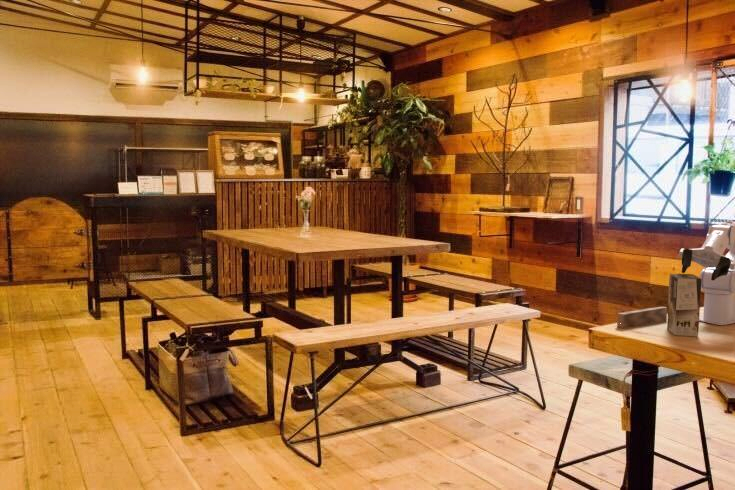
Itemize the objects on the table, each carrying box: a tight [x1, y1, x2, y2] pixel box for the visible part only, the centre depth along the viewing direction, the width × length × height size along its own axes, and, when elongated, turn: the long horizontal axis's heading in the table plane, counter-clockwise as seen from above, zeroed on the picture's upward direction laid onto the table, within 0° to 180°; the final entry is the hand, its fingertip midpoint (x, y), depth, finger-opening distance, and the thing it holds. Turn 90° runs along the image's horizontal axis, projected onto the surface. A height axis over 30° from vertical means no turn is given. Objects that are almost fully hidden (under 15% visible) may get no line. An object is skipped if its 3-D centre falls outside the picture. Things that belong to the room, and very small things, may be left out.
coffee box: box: [666, 273, 702, 338], centre depth 186 cm, size 9×6×16 cm
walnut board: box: [616, 306, 668, 329], centre depth 198 cm, size 20×2×4 cm, turn 121°
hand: (697, 273), depth 184 cm, fingers open, 7 cm apart
